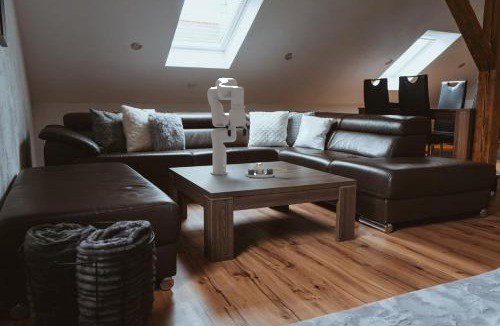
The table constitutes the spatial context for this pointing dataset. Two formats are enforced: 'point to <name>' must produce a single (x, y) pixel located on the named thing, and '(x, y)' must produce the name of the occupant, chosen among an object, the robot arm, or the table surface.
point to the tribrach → (258, 172)
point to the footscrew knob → (270, 171)
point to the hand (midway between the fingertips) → (236, 136)
